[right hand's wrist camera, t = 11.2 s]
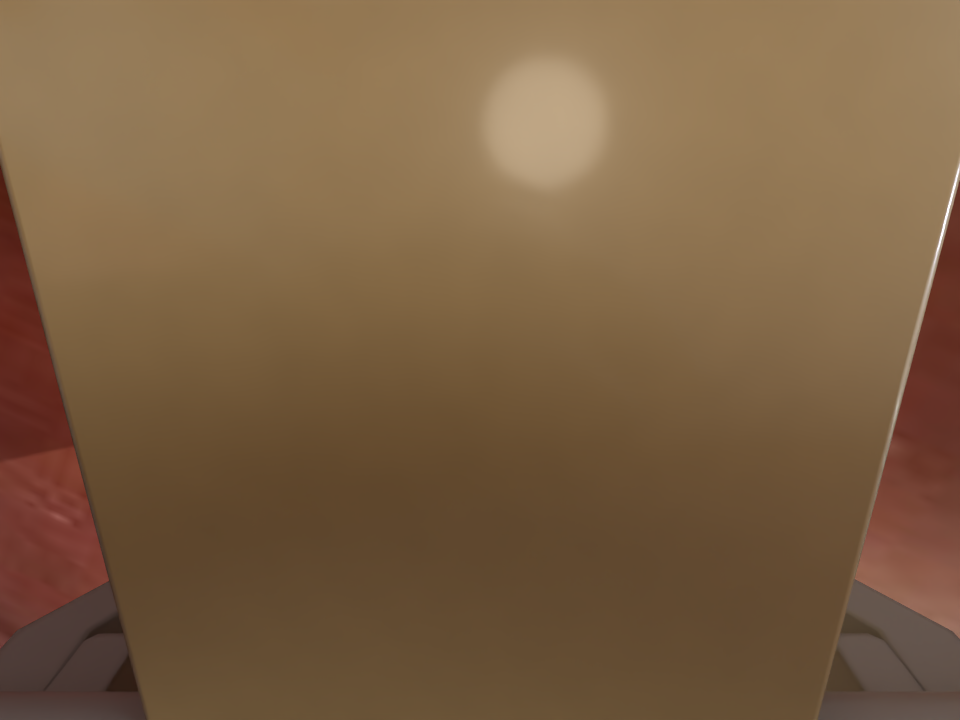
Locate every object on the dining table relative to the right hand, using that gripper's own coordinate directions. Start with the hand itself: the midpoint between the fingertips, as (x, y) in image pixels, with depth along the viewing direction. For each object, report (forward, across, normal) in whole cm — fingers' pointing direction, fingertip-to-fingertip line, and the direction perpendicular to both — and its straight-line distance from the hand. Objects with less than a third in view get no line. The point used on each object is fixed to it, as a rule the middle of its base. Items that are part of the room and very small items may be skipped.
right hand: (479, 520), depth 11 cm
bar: (+3, 0, -8) cm, 9 cm away
